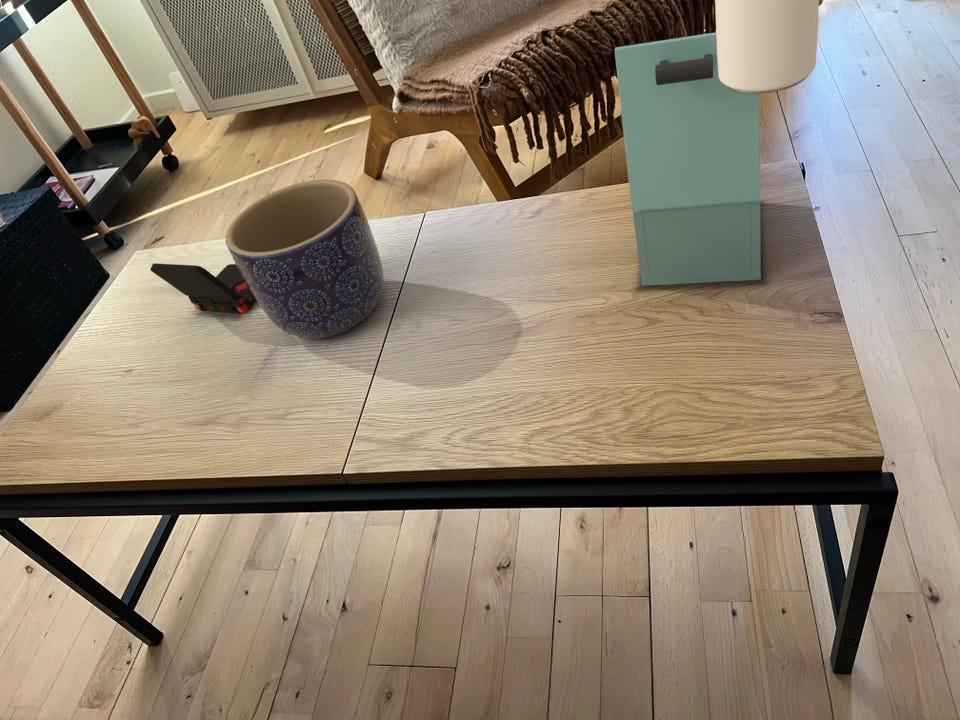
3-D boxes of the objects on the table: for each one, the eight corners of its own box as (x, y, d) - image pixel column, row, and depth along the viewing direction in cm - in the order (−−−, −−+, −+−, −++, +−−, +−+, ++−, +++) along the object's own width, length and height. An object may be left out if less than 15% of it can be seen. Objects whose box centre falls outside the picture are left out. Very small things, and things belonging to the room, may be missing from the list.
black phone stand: (281, 274, 112) (252, 215, 106) (233, 329, 105) (198, 269, 98) (231, 271, 116) (200, 214, 110) (181, 324, 109) (145, 266, 102)
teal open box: (651, 210, 102) (643, 140, 95) (757, 201, 98) (756, 128, 91) (642, 286, 91) (632, 213, 84) (760, 279, 86) (760, 202, 80)
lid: (615, 47, 75) (609, 62, 71) (758, 25, 71) (760, 40, 67) (632, 207, 84) (627, 228, 80) (760, 197, 80) (761, 218, 76)
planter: (418, 280, 103) (382, 180, 93) (348, 363, 93) (300, 262, 83) (323, 267, 111) (282, 175, 101) (250, 343, 101) (195, 249, 92)
